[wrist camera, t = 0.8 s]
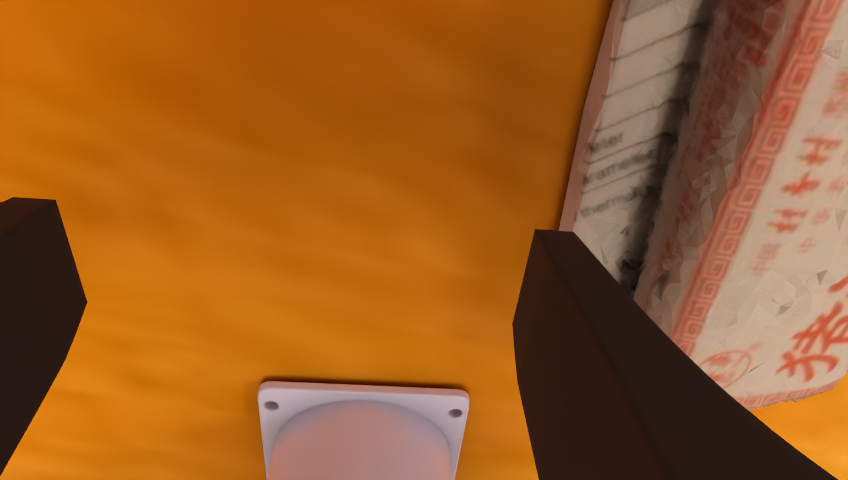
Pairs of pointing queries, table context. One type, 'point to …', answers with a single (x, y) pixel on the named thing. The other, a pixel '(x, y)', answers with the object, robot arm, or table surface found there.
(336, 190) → the table surface
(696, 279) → the packaged product
